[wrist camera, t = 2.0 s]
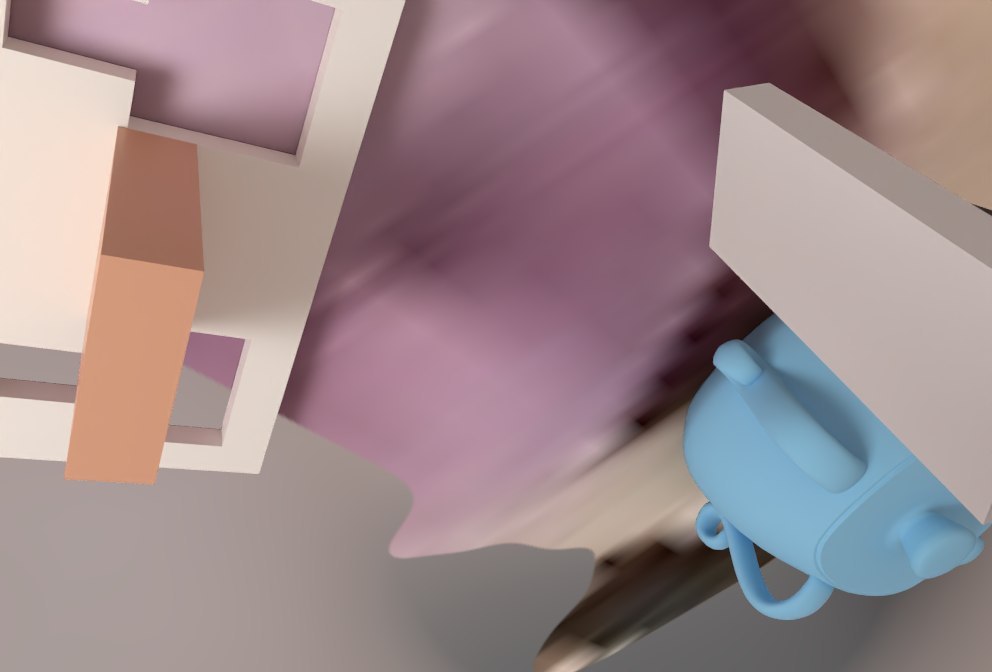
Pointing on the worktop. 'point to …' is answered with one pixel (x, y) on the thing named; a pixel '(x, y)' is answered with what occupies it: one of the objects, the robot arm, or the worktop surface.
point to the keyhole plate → (234, 218)
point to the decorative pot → (813, 480)
